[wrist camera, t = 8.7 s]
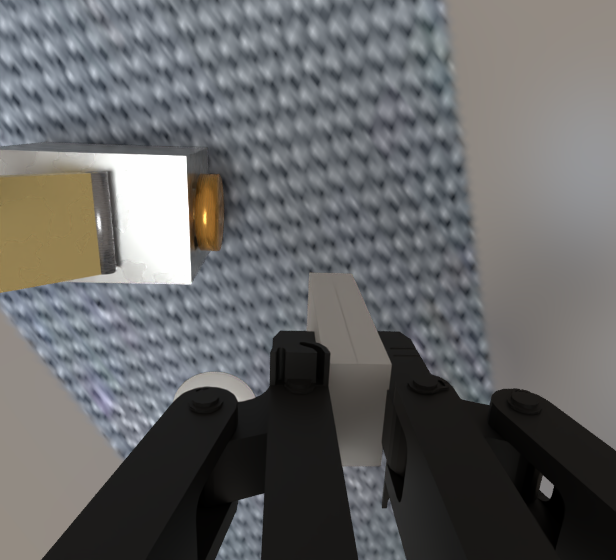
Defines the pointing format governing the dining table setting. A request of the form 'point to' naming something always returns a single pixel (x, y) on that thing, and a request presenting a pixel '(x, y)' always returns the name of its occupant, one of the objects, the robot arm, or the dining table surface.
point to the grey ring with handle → (218, 384)
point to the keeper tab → (54, 228)
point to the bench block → (133, 202)
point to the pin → (208, 212)
